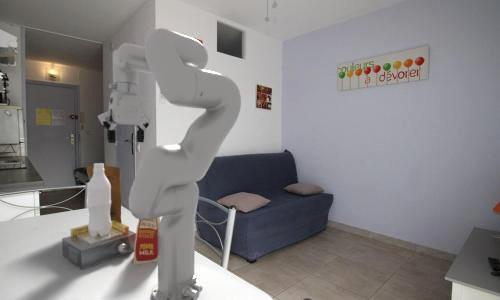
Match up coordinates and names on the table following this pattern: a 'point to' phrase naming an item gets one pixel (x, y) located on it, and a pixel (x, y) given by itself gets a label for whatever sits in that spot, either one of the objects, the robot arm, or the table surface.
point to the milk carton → (146, 241)
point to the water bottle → (99, 202)
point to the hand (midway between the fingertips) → (126, 142)
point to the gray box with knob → (97, 245)
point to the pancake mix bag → (112, 189)
